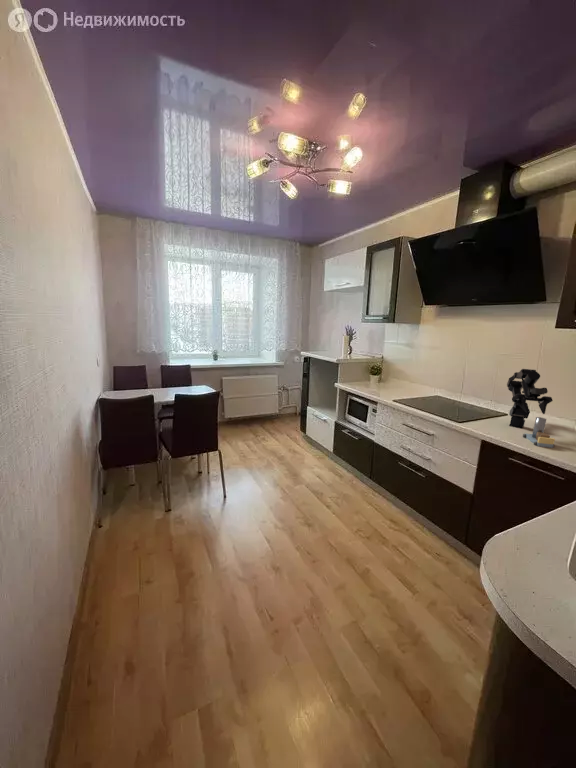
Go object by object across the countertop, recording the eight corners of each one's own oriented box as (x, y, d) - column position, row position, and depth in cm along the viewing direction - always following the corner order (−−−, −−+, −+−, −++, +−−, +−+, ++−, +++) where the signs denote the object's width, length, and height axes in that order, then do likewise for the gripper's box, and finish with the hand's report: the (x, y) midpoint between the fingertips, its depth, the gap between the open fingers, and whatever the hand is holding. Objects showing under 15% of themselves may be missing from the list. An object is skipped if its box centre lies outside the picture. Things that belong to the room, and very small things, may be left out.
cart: (521, 436, 178) (523, 428, 177) (539, 438, 176) (541, 429, 175) (535, 445, 164) (537, 437, 163) (554, 448, 163) (556, 439, 162)
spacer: (532, 438, 170) (537, 418, 168) (530, 435, 174) (535, 416, 172) (542, 439, 169) (547, 420, 166) (540, 437, 172) (545, 418, 170)
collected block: (535, 439, 169) (537, 432, 168) (543, 440, 168) (545, 432, 168) (539, 441, 165) (541, 434, 164) (548, 442, 165) (550, 435, 164)
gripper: (520, 380, 177) (527, 405, 170) (555, 383, 176) (563, 408, 168) (508, 389, 187) (514, 413, 180) (542, 392, 185) (549, 416, 178)
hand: (535, 412), depth 176 cm, fingers open, 9 cm apart
